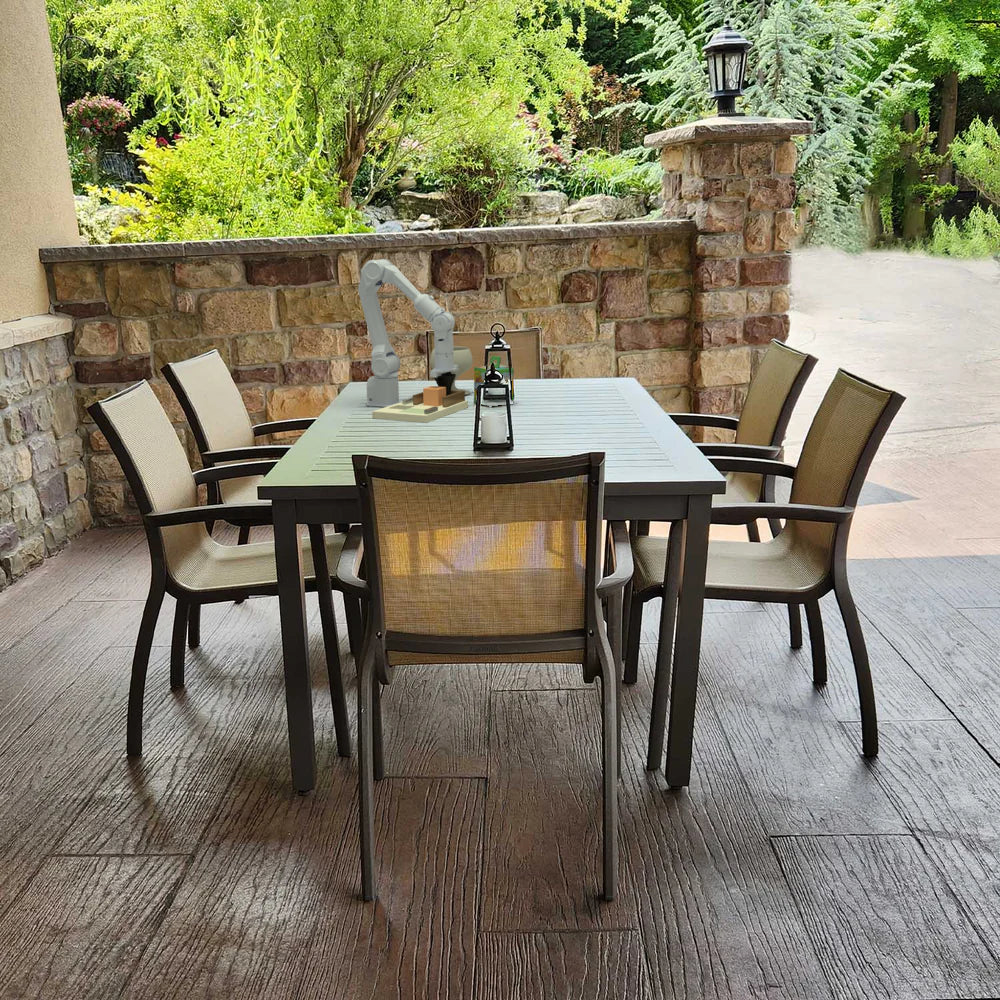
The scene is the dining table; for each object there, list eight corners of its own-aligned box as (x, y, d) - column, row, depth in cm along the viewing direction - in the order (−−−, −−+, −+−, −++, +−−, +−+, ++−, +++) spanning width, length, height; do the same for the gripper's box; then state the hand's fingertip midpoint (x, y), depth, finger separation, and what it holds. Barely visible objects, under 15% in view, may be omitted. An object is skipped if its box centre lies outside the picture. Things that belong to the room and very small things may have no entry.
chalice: (426, 392, 335) (425, 347, 331) (467, 389, 339) (466, 345, 335) (436, 398, 322) (435, 352, 318) (478, 396, 326) (477, 349, 322)
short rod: (424, 414, 286) (424, 409, 286) (434, 410, 291) (434, 406, 291) (427, 414, 286) (427, 410, 285) (437, 410, 291) (437, 406, 291)
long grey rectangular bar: (402, 404, 302) (402, 400, 302) (417, 399, 310) (417, 395, 309) (411, 404, 301) (411, 401, 300) (426, 400, 308) (426, 396, 308)
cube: (423, 405, 300) (423, 388, 299) (431, 402, 304) (431, 386, 303) (438, 406, 298) (437, 389, 297) (446, 403, 302) (445, 387, 301)
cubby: (413, 405, 300) (412, 395, 300) (433, 398, 311) (433, 388, 310) (445, 407, 296) (445, 397, 295) (465, 400, 307) (464, 390, 306)
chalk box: (473, 404, 313) (472, 356, 309) (496, 400, 318) (496, 353, 314) (491, 408, 306) (490, 359, 302) (514, 404, 311) (514, 356, 307)
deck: (372, 418, 292) (372, 411, 291) (416, 403, 314) (416, 397, 314) (426, 422, 284) (426, 415, 284) (468, 407, 307) (467, 400, 306)
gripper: (444, 356, 295) (445, 402, 299) (466, 350, 308) (467, 394, 311) (423, 355, 298) (424, 401, 302) (446, 349, 310) (447, 393, 314)
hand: (445, 397), depth 307 cm, fingers closed
